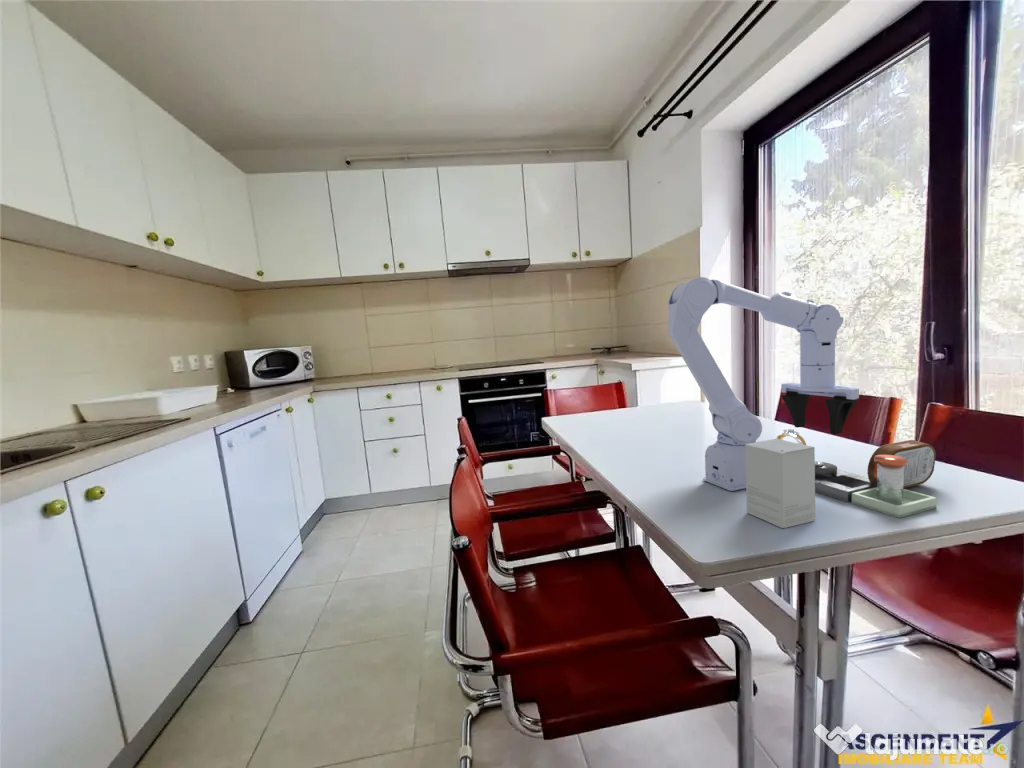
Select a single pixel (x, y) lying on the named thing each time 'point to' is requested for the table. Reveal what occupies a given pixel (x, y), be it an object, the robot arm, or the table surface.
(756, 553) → the table surface
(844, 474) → the tensioner block
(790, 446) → the supplement box
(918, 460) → the tin
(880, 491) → the jar with copper lid
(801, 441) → the ring
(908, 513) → the tray
